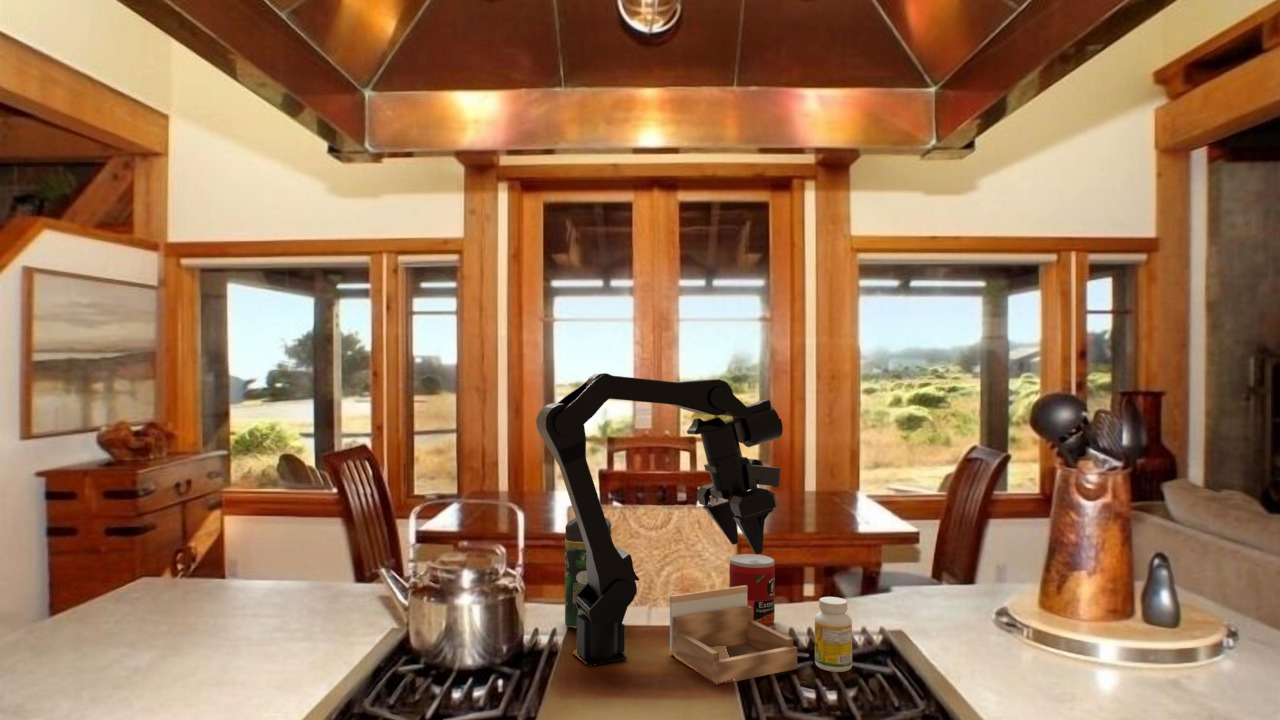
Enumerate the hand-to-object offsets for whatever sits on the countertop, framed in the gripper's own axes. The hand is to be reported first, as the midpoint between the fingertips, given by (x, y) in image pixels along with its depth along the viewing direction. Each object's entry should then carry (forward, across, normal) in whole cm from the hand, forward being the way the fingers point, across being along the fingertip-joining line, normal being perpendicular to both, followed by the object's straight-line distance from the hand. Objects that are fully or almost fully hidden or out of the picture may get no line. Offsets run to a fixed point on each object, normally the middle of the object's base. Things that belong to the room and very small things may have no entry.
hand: (746, 548), depth 123 cm
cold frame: (+13, -8, +9) cm, 18 cm away
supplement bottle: (+17, -13, -4) cm, 22 cm away
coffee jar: (+8, +17, +26) cm, 32 cm away
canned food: (+16, +10, -1) cm, 18 cm away
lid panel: (+13, -1, +10) cm, 17 cm away
